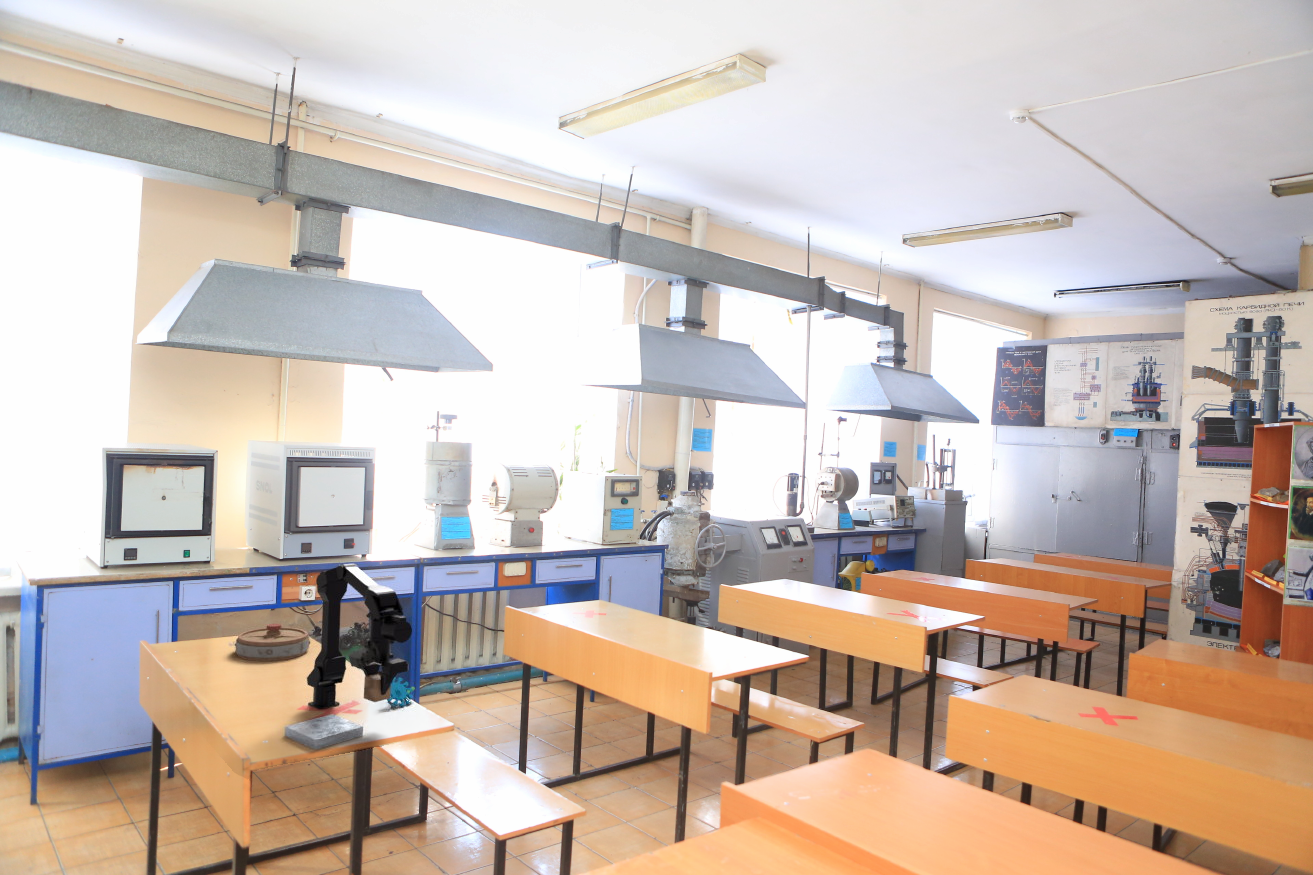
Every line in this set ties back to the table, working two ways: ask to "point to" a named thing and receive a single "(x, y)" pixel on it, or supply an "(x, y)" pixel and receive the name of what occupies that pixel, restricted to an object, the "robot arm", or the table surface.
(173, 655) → the table surface
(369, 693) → the walnut block
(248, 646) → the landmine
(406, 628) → the robot arm
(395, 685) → the blue spiky blob
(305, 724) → the base plate
